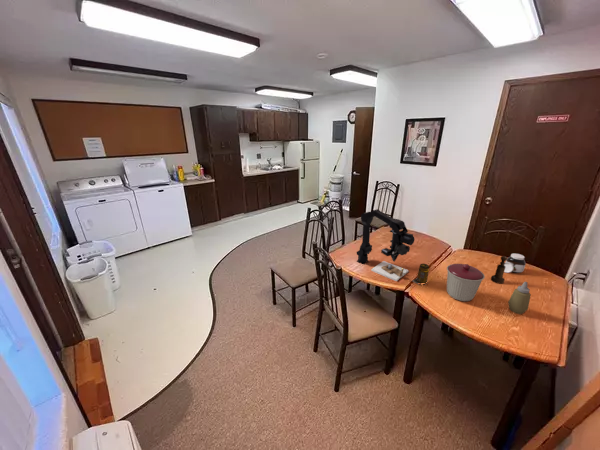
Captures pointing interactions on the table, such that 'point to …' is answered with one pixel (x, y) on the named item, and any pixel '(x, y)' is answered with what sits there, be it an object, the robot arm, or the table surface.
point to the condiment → (422, 274)
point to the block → (393, 270)
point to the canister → (463, 281)
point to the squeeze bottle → (520, 299)
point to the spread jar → (515, 263)
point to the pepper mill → (499, 272)
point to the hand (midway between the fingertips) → (393, 261)
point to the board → (392, 276)
